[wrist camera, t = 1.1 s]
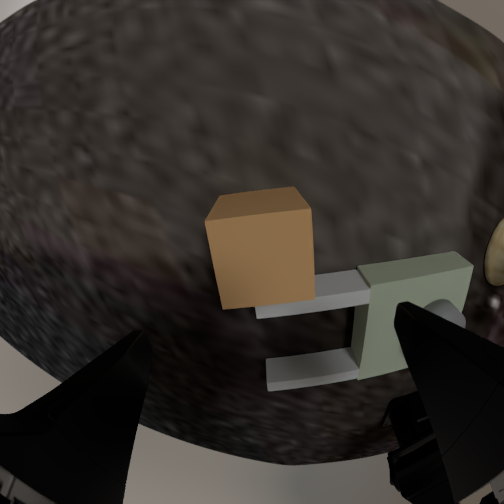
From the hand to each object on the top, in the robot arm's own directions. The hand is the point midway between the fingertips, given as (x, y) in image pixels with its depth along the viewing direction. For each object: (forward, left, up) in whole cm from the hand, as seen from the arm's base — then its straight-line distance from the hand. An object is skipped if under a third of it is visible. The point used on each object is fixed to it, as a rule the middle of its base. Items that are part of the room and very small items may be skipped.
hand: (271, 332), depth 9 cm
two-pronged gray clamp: (-9, -8, -11) cm, 16 cm away
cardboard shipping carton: (0, 0, -11) cm, 11 cm away
